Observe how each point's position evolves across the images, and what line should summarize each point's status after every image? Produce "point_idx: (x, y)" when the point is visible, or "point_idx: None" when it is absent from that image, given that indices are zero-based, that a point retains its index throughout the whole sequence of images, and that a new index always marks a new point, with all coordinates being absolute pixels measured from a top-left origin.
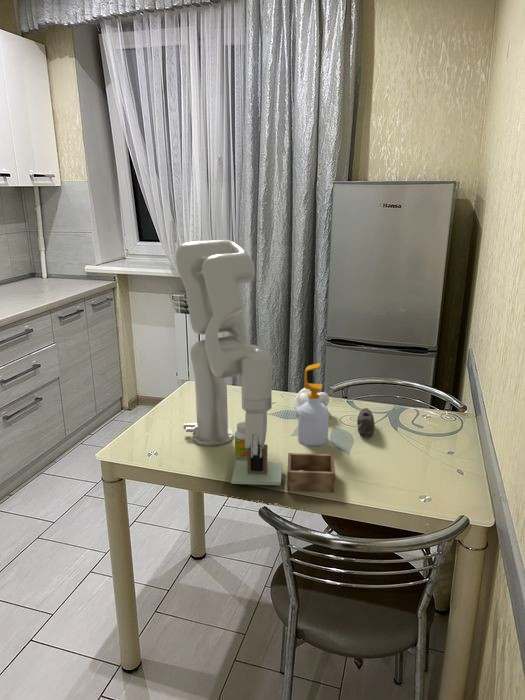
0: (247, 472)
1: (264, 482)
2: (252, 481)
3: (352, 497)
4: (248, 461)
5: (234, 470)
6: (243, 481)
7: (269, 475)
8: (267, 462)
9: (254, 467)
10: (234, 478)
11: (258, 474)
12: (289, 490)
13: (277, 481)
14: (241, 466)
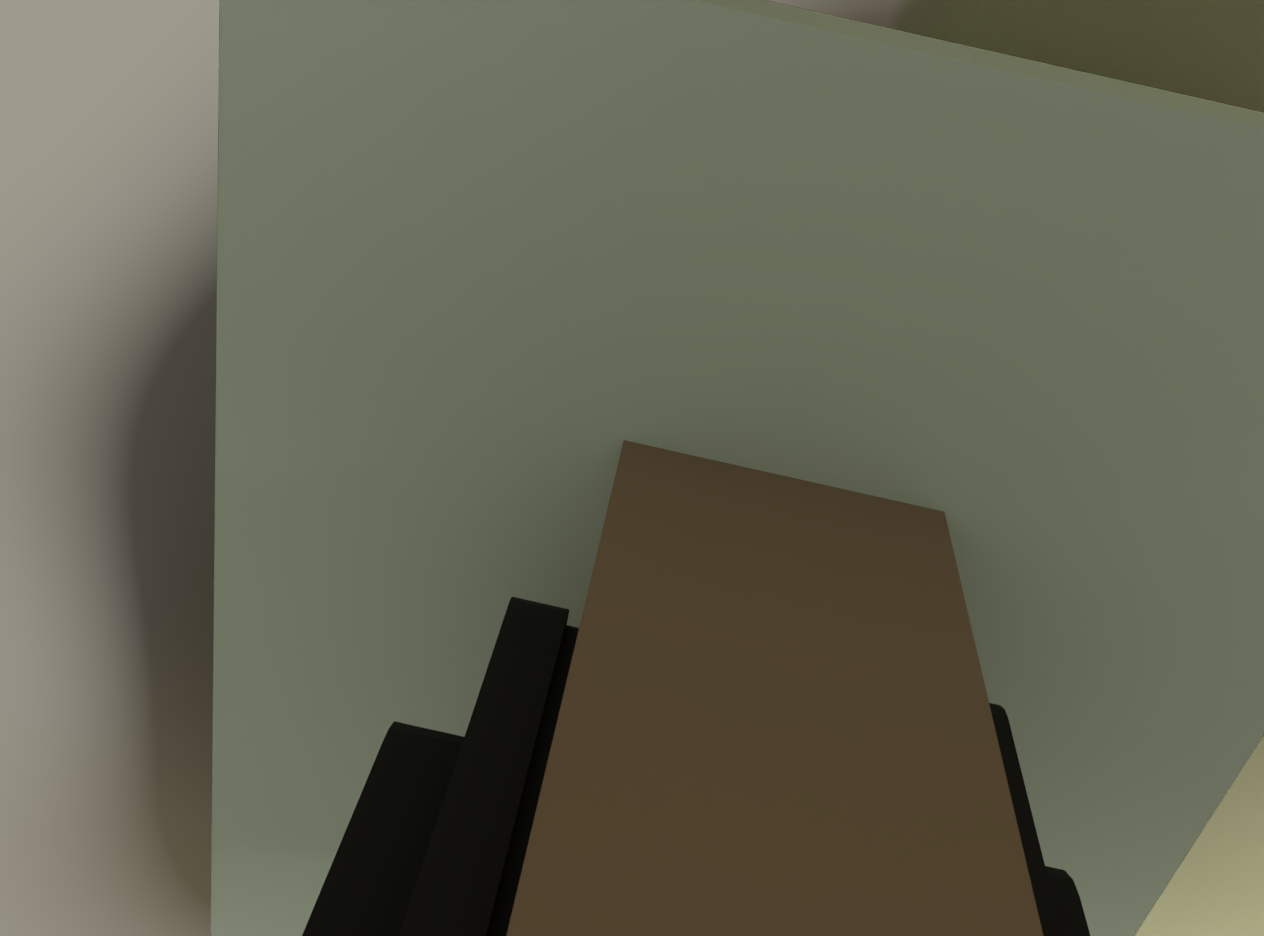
0: (688, 448)
1: (217, 715)
2: (216, 499)
3: None
4: (554, 734)
5: (901, 75)
6: (223, 281)
7: None
8: (1090, 924)
9: (383, 766)
10: (373, 27)
11: None
12: None
13: (241, 921)
14: (1103, 330)
